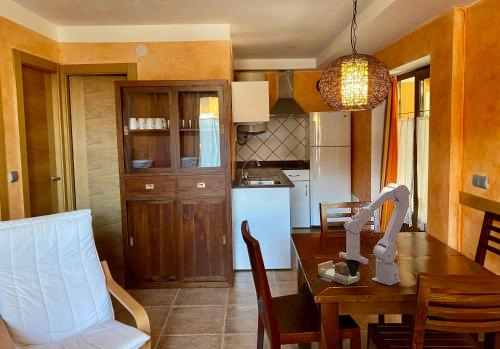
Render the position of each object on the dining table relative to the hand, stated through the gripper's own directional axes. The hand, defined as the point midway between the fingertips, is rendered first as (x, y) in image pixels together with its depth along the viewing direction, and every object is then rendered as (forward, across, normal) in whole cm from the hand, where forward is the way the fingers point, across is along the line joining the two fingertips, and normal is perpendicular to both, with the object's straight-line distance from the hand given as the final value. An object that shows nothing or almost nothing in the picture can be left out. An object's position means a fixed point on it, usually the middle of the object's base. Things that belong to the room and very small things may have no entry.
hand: (353, 276), depth 172 cm
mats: (+3, -9, 0) cm, 9 cm away
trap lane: (+3, -9, 0) cm, 9 cm away
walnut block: (+1, -6, 0) cm, 6 cm away
